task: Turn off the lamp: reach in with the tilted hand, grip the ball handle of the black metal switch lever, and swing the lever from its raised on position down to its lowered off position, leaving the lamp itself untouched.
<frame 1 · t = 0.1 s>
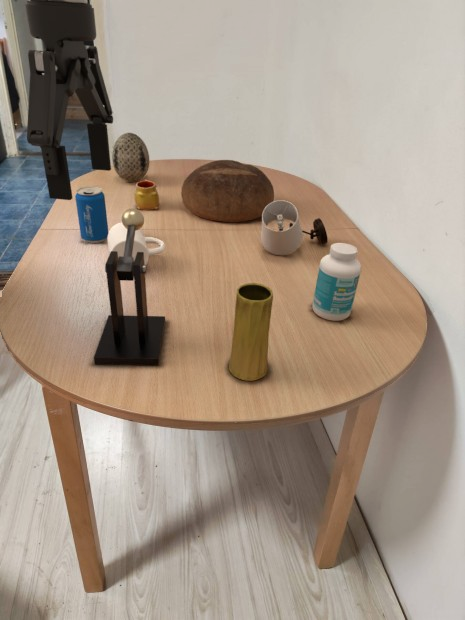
hand: (83, 182, 64), 26 cm above the table, tool pointing down, fingers open, 13 cm apart
pill bottle: (330, 312, 88), on the table
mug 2: (148, 204, 132), on the table
beverage can: (95, 239, 110), on the table
mug: (138, 264, 101), on the table
vase: (247, 369, 72), on the table
decorative egg: (132, 181, 149), on the table
light fixture: (293, 251, 110), on the table
lever: (129, 242, 72), point 16 cm above the table, hinge at 25.0°
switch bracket: (132, 342, 76), on the table
bread: (227, 208, 133), on the table
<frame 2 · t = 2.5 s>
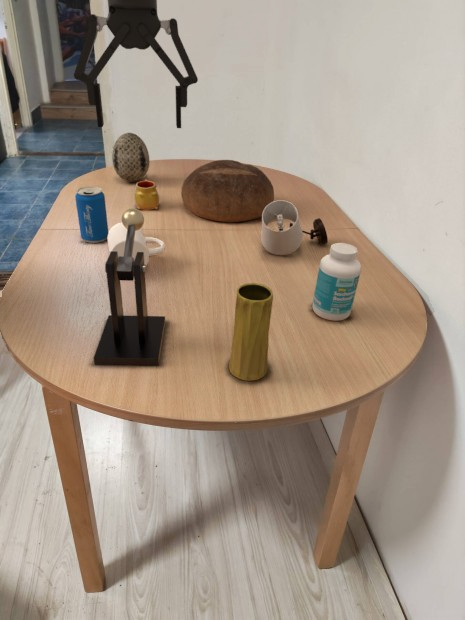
hand: (140, 126, 81), 30 cm above the table, tool pointing down, fingers open, 13 cm apart
nothing on the table moved.
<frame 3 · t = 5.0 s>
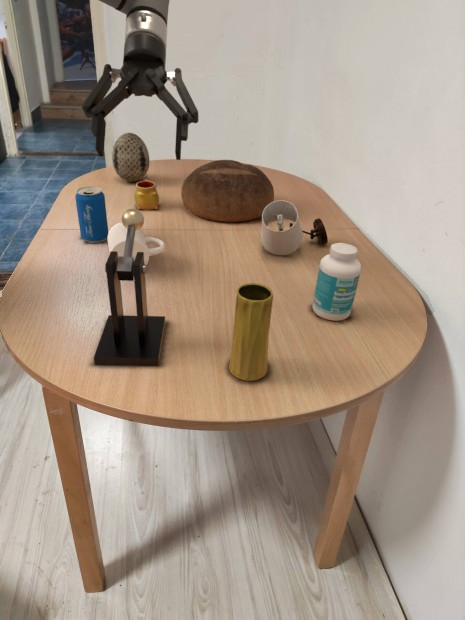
hand: (138, 154, 79), 26 cm above the table, tool tilted 45°, fingers open, 13 cm apart
nothing on the table moved.
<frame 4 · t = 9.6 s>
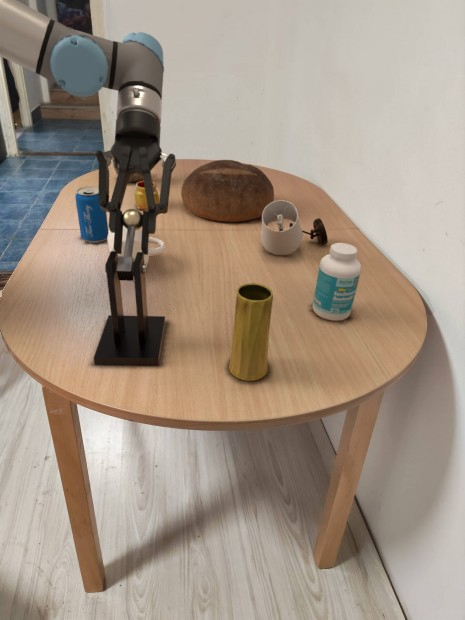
hand: (131, 251, 73), 14 cm above the table, tool tilted 45°, fingers closed on lever, 4 cm apart
lever: (129, 242, 72), point 16 cm above the table, hinge at 25.0°, touching gripper
everything else where it was.
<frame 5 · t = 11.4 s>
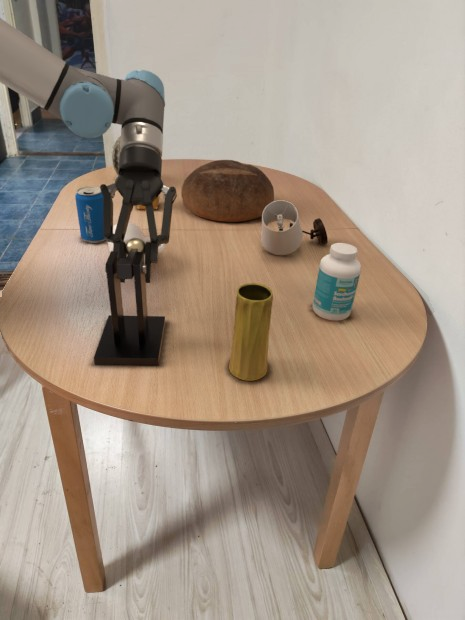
hand: (134, 280, 77), 9 cm above the table, tool tilted 45°, fingers closed on lever, 4 cm apart
lever: (131, 257, 74), point 13 cm above the table, hinge at -7.5°, touching gripper
everything else where it was.
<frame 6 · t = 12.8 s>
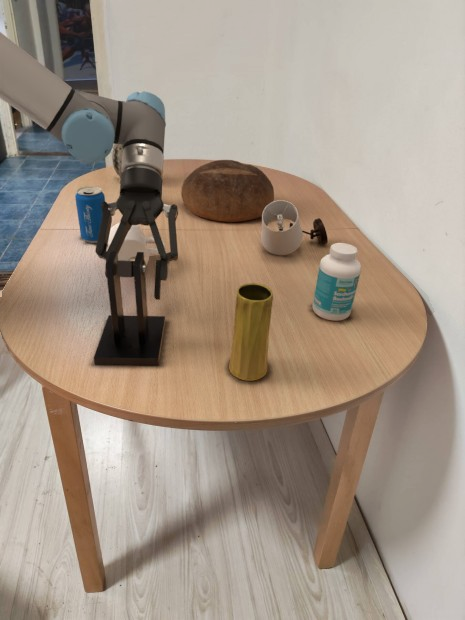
hand: (135, 297, 78), 5 cm above the table, tool tilted 45°, fingers open, 7 cm apart
lever: (131, 267, 74), point 12 cm above the table, hinge at -25.7°
everything else where it was.
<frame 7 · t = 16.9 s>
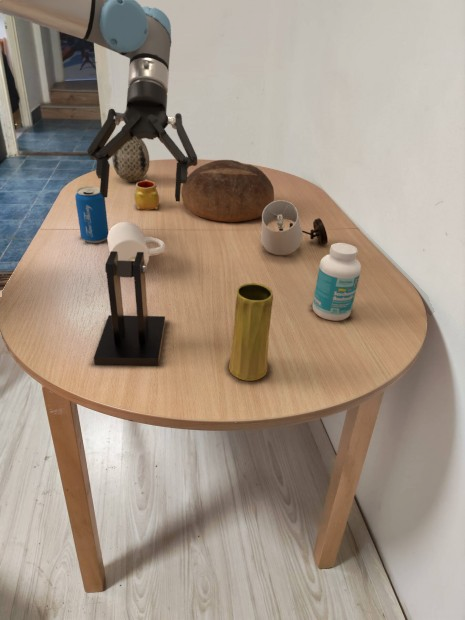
hand: (140, 197, 84), 18 cm above the table, tool tilted 40°, fingers open, 13 cm apart
nothing on the table moved.
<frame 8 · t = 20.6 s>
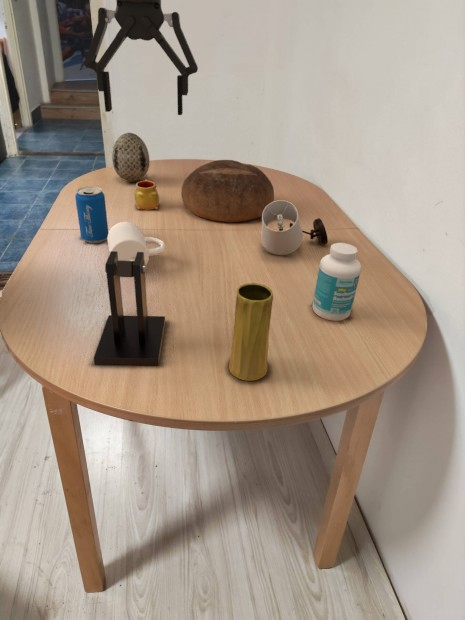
hand: (144, 112, 87), 31 cm above the table, tool pointing down, fingers open, 13 cm apart
nothing on the table moved.
at the end: lever at -26° (first picture: +25°); light fixture moved 0.2 cm from its start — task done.
